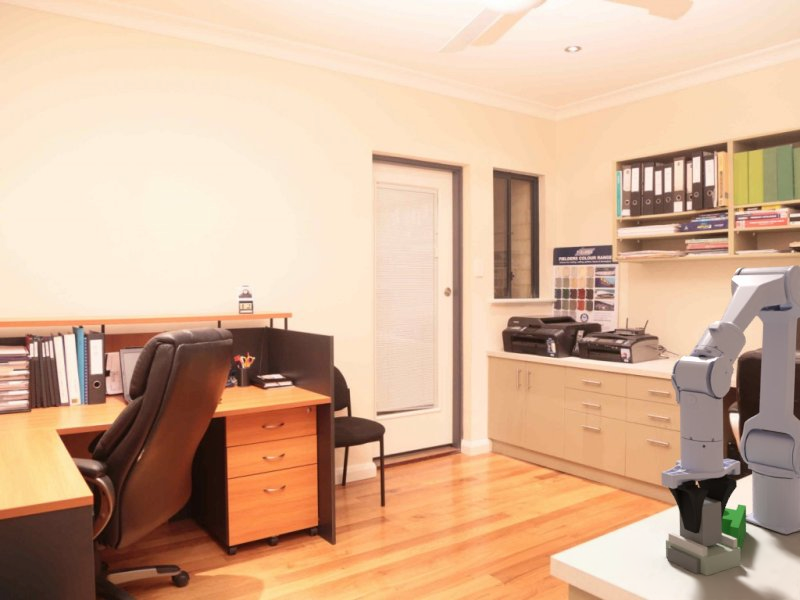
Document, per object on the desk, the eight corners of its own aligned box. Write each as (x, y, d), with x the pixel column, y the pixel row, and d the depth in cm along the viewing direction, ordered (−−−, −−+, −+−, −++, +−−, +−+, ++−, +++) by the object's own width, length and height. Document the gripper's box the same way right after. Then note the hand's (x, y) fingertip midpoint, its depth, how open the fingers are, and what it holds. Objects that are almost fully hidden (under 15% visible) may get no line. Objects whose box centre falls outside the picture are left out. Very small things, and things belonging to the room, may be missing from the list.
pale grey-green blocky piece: (698, 547, 96) (698, 523, 96) (740, 565, 89) (740, 539, 89) (662, 557, 92) (661, 533, 92) (702, 576, 86) (702, 550, 86)
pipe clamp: (721, 528, 104) (720, 501, 104) (746, 533, 102) (746, 505, 101) (711, 551, 94) (711, 522, 94) (738, 557, 92) (738, 527, 92)
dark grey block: (691, 530, 95) (690, 491, 95) (721, 542, 90) (721, 501, 90) (673, 535, 93) (672, 496, 93) (703, 547, 88) (702, 506, 88)
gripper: (711, 426, 97) (711, 511, 98) (644, 437, 91) (645, 527, 91) (753, 435, 91) (753, 526, 91) (684, 448, 85) (685, 545, 85)
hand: (702, 528), depth 91 cm, fingers closed on dark grey block, 4 cm apart
